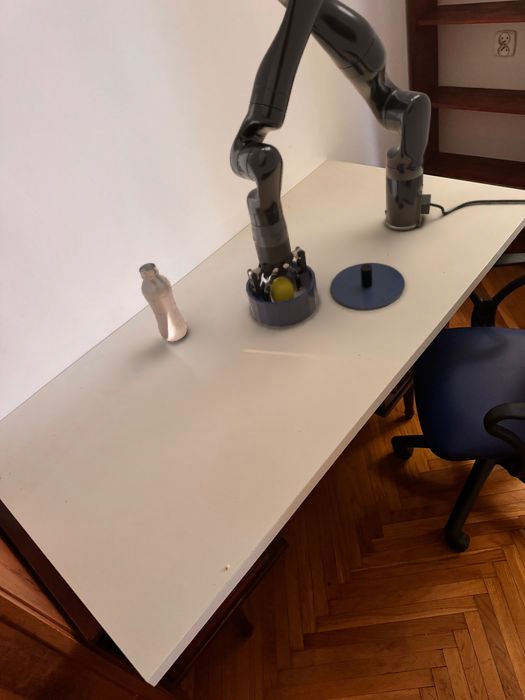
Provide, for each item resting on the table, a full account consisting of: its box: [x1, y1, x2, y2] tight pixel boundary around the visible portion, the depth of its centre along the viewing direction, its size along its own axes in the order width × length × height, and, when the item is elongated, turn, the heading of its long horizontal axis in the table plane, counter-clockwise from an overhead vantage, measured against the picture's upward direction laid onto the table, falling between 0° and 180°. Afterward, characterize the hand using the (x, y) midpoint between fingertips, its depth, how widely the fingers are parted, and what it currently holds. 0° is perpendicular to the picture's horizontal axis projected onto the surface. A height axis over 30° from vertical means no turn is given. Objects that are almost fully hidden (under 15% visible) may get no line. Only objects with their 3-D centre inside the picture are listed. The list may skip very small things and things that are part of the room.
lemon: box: [270, 277, 295, 302], centre depth 112 cm, size 6×6×8 cm
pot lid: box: [330, 262, 406, 311], centre depth 111 cm, size 17×17×6 cm
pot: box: [245, 260, 320, 328], centre depth 112 cm, size 16×16×7 cm
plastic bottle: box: [138, 262, 188, 342], centre depth 107 cm, size 6×7×20 cm
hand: (283, 296), depth 113 cm, fingers open, 7 cm apart
